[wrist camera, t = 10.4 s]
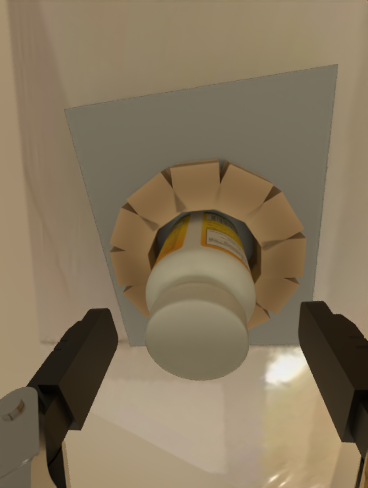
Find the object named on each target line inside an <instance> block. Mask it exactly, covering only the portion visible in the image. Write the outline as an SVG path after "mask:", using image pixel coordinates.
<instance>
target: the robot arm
mask: <svg viewBox="0 0 368 488" xmlns="http://www.w3.org/2000/svg"><path fill="white" fill-rule="evenodd" d="M298 338H299V343H300V346H301V349H302V351H303V354H304V356H305V358H306V361H307V363H308V365H309V367H310V370H311V372H312V374H313V377H314V379H315V381H316V384H317V386H318V388H319V391H320V393H321V395H322V398H323V400H324V402H325V405H326V407H327V409H328V411H329V414H330V416H331V418H332V421H333V423H334V425H335V428H336V430H337V432H338V435H339V437H340V439H341V442H351V443H352V442H353V443H356V445H357V447H358V450H359V452H360V454H361V458H360V461H359V466H358V471H357V475H356V481H355V485H354V488H368V341H367V339H366V338H364V335H363V334H362V333H361V332H360V330H359V329H358V328H357V326H356V325H355V324H354V323H353V322H351V321H350V320H348V319H347V318H346V317H344V316H343V315H341V314H333V313H332V312H331V310H330V309H329V307H328V306H327V305H326V303H325V302H324V301H306V302H301V305H300V315H299V326H298ZM117 345H118V335H117V331H116V328H115V325H114V321H113V318H112V315H111V312H110V310H109V309H108V308H99V309H90V310H89V311H88V312H87V313H86V315H85V316H84V318H83V319H82V321H78V322H77V323H75V324H74V325H73V326H72V327H71V328H69V329H68V330H67V331H66V333H65V334H64V335H63V337H62V338H61V340H60V342H58V344H57V345H56V346H55V348H54V351H52V352H51V353H50V355H49V356H48V357H47V359H46V360H45V361H44V363H43V364H42V365H41V367H40V368H39V370H38V371H37V372H36V374H35V375H34V377H33V378H32V379H31V381H30V382H29V383H28V385H27V386H26V387H22V388H19V389H16V390H14V391H12V392H10V393H9V394H7V395H6V396H4V397H3V398H2V399H0V488H71V485H70V477H69V468H68V460H67V452H66V445H65V441H64V438H65V436H66V434H67V432H68V430H81V429H82V427H83V424H84V422H85V420H86V417H87V415H88V413H89V411H90V408H91V406H92V404H93V401H94V399H95V397H96V395H97V392H98V390H99V388H100V385H101V383H102V381H103V379H104V376H105V374H106V372H107V369H108V367H109V365H110V363H111V360H112V358H113V356H114V353H115V351H116V349H117Z"/></svg>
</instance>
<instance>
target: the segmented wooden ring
mask: <svg viewBox="0 0 368 488" xmlns="http://www.w3.org/2000/svg"><path fill="white" fill-rule="evenodd" d="M126 200H127V201H128V202H127V203H126V204H125V205H123V206H122V207H121V208H120V212H119V215H118V218H117V221H116V224H115V227H114V231H113V234H112V237H111V240H110V243H109V244H111V245H113V246H114V247H113V249H112V250H111V251H110V252H109V253H110V257H111V261H112V264H113V268H114V272H115V275H116V279H117V283H118V286H126V288H125V290H124V291H123V294H124V295H125V296H126V297H127V298H128V300H129V301H130V302H131V303H132V304H133V305H134V306H135V307H136V308H137V309H138V310H139V311H140V312H141V313H142V314H143V315H144V316H145V317H146V318H148V317H149V315H150V313H149V310H148V307H147V303H146V285H147V281H148V278H149V275H150V273H151V271H152V269H153V267H154V264H155V262H156V260H157V258H158V256H159V254H160V250H159V244H158V238H157V236H158V234H159V232H160V229H161V227H162V226H164V225H165V224H166V223H168V222H169V221H171V220H172V219H174V218H175V217H176V216H178V215H179V214H181V213H182V212H189V211H200V210H211V209H216V210H218V211H221V212H223V213H225V214H227V215H229V216H232V217H234V218H236V219H238V220H241V221H243V222H245V223H246V225H247V226H248V228H249V229H250V231H251V232H252V234H253V255H252V256H251V258H250V259H249V261H248V265H249V269H250V272H251V275H252V279H253V282H254V286H255V292H256V303H255V308H254V311H253V314H252V316H251V318H250V320H249V322H248V323H247V327H248V330H249V329H251V328H253V327H255V326H258V325H260V324H262V323H264V322H266V321H268V320H271V319H270V316H269V313H268V311H270V312H273V313H275V314H278V313H279V311H280V310H281V309H282V308H283V306H284V305H285V304H286V302H287V301H288V300H289V299H290V297H291V296H292V295H293V293H294V292H295V291H296V289H297V288H298V287H299V286H300V284H299V283H298V281H297V279H296V278H295V277H303V274H304V262H305V250H306V237H305V236H304V235H303V234H302V233H301V232H300V231H302V230H303V229H304V227H303V226H302V224H301V222H300V221H299V219H298V217H297V216H296V214H295V212H294V211H293V209H292V207H291V206H290V204H289V202H288V201H287V199H286V197H285V196H284V194H283V192H282V191H281V190H279V189H278V188H276V187H275V186H274V184H273V183H271V182H270V181H268V180H267V179H266V178H264V177H263V176H261V175H258V174H256V173H254V172H252V171H250V170H248V169H246V168H243V167H241V166H239V165H237V164H235V163H233V162H231V161H228V160H226V161H225V163H224V166H223V168H222V170H221V172H220V174H219V162H218V159H217V158H214V159H206V160H198V161H189V162H181V163H176V164H175V165H174V166H172V167H171V168H170V167H167V168H166V169H164V170H163V171H161V172H160V173H159V174H157V175H156V176H155V177H154V178H152V179H151V180H150V181H149V182H147V183H146V184H145V185H144V186H142V187H141V188H140V189H139V190H138V191H136V192H135V193H134V194H133V195H131V196H130V197H129V198H128V199H126Z"/></svg>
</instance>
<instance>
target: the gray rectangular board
mask: <svg viewBox="0 0 368 488" xmlns="http://www.w3.org/2000/svg"><path fill="white" fill-rule="evenodd" d="M337 70H338V64H336V65H329V66H323V67H317V68H311V69H305V70H299V71H293V72H287V73H281V74H275V75H269V76H263V77H257V78H250V79H244V80H238V81H232V82H226V83H220V84H214V85H208V86H202V87H196V88H190V89H184V90H177V91H171V92H165V93H159V94H153V95H147V96H141V97H135V98H129V99H123V100H117V101H111V102H105V103H98V104H92V105H86V106H80V107H74V108H68V109H64V111H65V115H66V119H67V122H68V126H69V129H70V133H71V136H72V140H73V144H74V147H75V151H76V154H77V158H78V161H79V165H80V169H81V172H82V176H83V179H84V183H85V186H86V190H87V194H88V197H89V201H90V204H91V208H92V211H93V215H94V219H95V222H96V226H97V229H98V233H99V236H100V240H101V244H102V247H103V251H104V254H105V258H106V261H107V265H108V268H109V272H110V276H111V279H112V283H113V286H114V290H115V293H116V297H117V301H118V304H119V308H120V311H121V315H122V318H123V322H124V326H125V329H126V333H127V336H128V340H129V343H130V347H131V346H146V343H145V330H146V325H147V322H148V319H149V317H148V318H146V317H145V316H144V315H143V314H142V313H141V312H140V311H139V310H138V309H137V308H136V307H135V306H134V305H133V304H132V303H131V302H130V301H129V300H128V298H127V297H126V296H125V295H124V294H123V291H124V290H125V288H126V286H118V283H117V279H116V275H115V272H114V268H113V264H112V261H111V257H110V253H109V252H110V251H111V250H112V249H113V247H114V246H113V245H111V244H109V243H110V240H111V237H112V234H113V231H114V227H115V224H116V221H117V218H118V215H119V212H120V208H121V207H122V206H123V205H125V204H126V203H127V202H128V201H127V200H126V199H128V198H129V197H130V196H131V195H133V194H134V193H135V192H136V191H138V190H139V189H140V188H141V187H142V186H144V185H145V184H146V183H147V182H149V181H150V180H151V179H152V178H154V177H155V176H156V175H157V174H159V173H160V172H161V171H163V170H164V169H166V168H167V167H170V168H171V167H172V166H174V165H175V164H176V163H181V162H189V161H198V160H206V159H214V158H217V159H218V162H219V174H220V172H221V170H222V168H223V166H224V163H225V161H226V160H228V161H231V162H233V163H235V164H237V165H239V166H241V167H243V168H246V169H248V170H250V171H252V172H254V173H256V174H258V175H261V176H263V177H264V178H266V179H267V180H268V181H270V182H271V183H273V184H274V186H275V187H276V188H278V189H279V190H281V191H282V192H283V194H284V196H285V197H286V199H287V201H288V202H289V204H290V206H291V207H292V209H293V211H294V212H295V214H296V216H297V217H298V219H299V221H300V222H301V224H302V226H303V227H304V229H303V230H302V231H300V232H301V233H302V234H303V235H304V236H305V237H306V250H305V262H304V274H303V277H295V278H296V279H297V281H298V283H299V284H300V286H299V287H298V288H297V289H296V291H295V292H294V293H293V295H292V296H291V297H290V299H289V300H288V301H287V302H286V304H285V305H284V306H283V308H282V309H281V310H280V311H279V313H278V314H275V313H273V312H270V311H268V313H269V316H270V319H271V320H268V321H266V322H264V323H262V324H260V325H258V326H255V327H253V328H251V329H249V330H248V333H249V345H285V344H300V343H299V338H298V326H299V315H300V305H301V302H306V301H313V292H314V283H315V274H316V265H317V255H318V246H319V237H320V228H321V218H322V209H323V200H324V190H325V181H326V172H327V163H328V153H329V144H330V135H331V126H332V116H333V107H334V98H335V89H336V79H337ZM208 211H214V212H217V213H219V214H221V215H223V216H225V217H226V218H227V219H229V220H230V221H231V222H232V223H233V224H234V226H235V227H236V229H237V231H238V233H239V236H240V239H241V242H242V245H243V249H244V252H245V255H246V259H247V262H248V261H249V259H250V258H251V256H252V255H253V234H252V232H251V231H250V229H249V228H248V226H247V225H246V223H245V222H243V221H241V220H238V219H236V218H234V217H232V216H229V215H227V214H225V213H223V212H221V211H218V210H216V209H211V210H208ZM191 212H194V211H189V212H182V213H181V214H179V215H178V216H176V217H175V218H174V219H172V220H171V221H169V222H168V223H166V224H165V225H164V226H162V227H161V229H160V232H159V234H158V236H157V238H158V244H159V250H160V252H161V249H162V247H163V245H164V243H165V240H166V238H167V236H168V234H169V232H170V230H171V228H172V227H173V225H174V224H175V223H176V222H177V221H178V220H179V219H180V218H181V217H183V216H184V215H186V214H188V213H191Z"/></svg>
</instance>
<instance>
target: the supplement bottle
mask: <svg viewBox="0 0 368 488" xmlns="http://www.w3.org/2000/svg"><path fill="white" fill-rule="evenodd" d="M146 303H147V307H148V310H149V313H150V315H149V319H148V322H147V325H146V330H145V343H146V347H147V349H148V352H149V354H150V355H151V357H152V358H153V359H154V361H155V362H156V363H157V364H158V365H159V366H160V367H161V368H163V369H164V370H166V371H168V372H169V373H171V374H173V375H176V376H178V377H181V378H186V379H190V380H212V379H217V378H220V377H223V376H225V375H227V374H229V373H231V372H233V371H234V370H236V369H237V368H238V367H239V366H240V365H241V364H242V363H243V361H244V360H245V358H246V356H247V353H248V350H249V333H248V327H247V323H248V322H249V320H250V318H251V316H252V314H253V311H254V308H255V303H256V292H255V286H254V282H253V279H252V275H251V272H250V269H249V265H248V262H247V259H246V255H245V252H244V249H243V245H242V242H241V239H240V236H239V233H238V231H237V229H236V227H235V226H234V224H233V223H232V222H231V221H230V220H229V219H227V218H226V217H225V216H223V215H221V214H219V213H217V212H214V211H208V210H200V211H194V212H191V213H188V214H186V215H184V216H183V217H181V218H180V219H179V220H178V221H177V222H176V223H175V224H174V225H173V227H172V228H171V230H170V232H169V234H168V236H167V238H166V240H165V243H164V245H163V247H162V249H161V252H160V254H159V256H158V258H157V260H156V262H155V264H154V267H153V269H152V271H151V273H150V275H149V278H148V281H147V285H146Z"/></svg>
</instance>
